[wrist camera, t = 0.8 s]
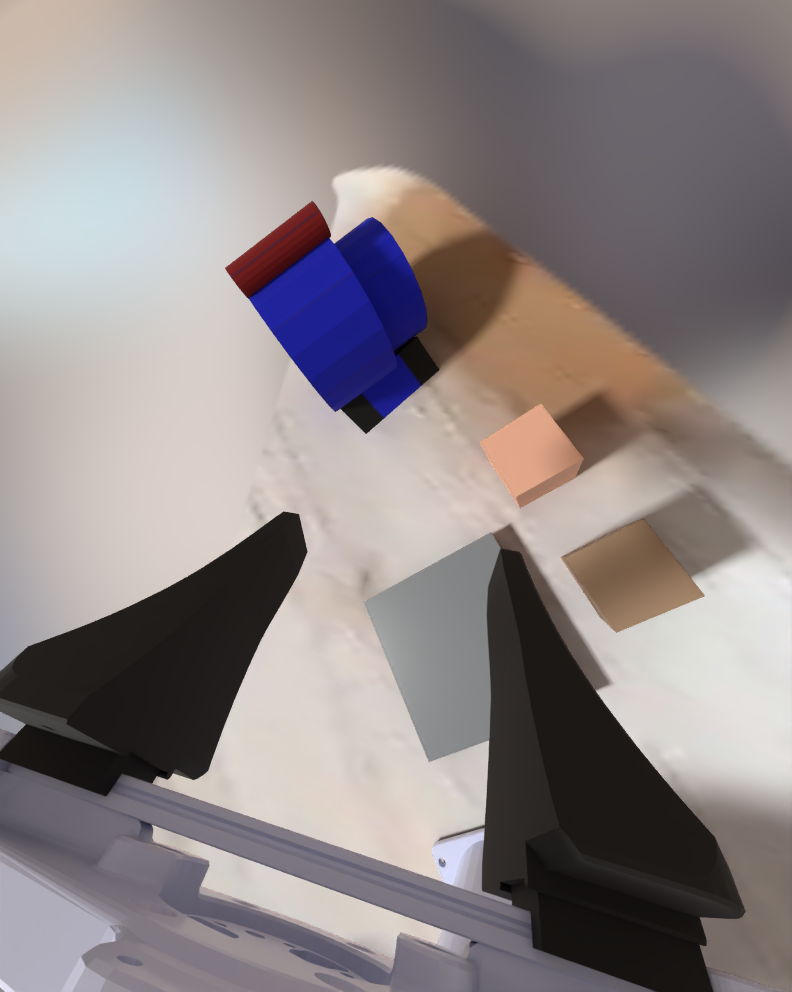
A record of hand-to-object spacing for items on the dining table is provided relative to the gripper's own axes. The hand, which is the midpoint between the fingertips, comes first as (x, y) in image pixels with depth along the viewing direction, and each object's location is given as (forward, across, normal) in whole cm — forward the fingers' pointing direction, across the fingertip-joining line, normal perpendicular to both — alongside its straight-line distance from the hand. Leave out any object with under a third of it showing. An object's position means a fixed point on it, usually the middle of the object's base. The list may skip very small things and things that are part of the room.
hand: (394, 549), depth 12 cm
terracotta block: (+15, -8, +5) cm, 18 cm away
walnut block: (+9, -13, +9) cm, 18 cm away
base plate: (+6, -4, +15) cm, 17 cm away
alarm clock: (+26, +8, +1) cm, 27 cm away
